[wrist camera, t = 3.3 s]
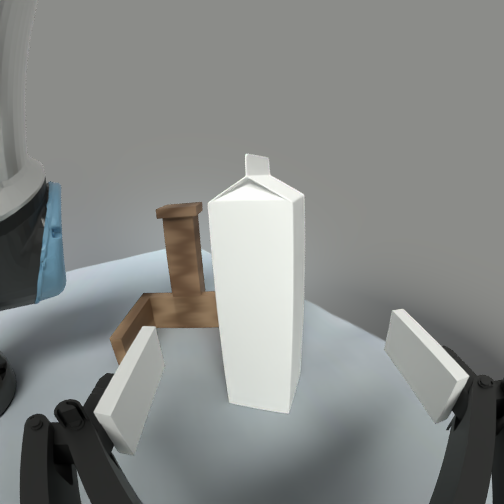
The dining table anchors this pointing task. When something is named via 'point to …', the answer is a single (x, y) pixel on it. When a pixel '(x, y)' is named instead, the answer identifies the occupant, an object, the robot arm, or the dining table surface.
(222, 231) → the milk
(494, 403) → the robot arm
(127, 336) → the post bracket
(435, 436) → the dining table surface
